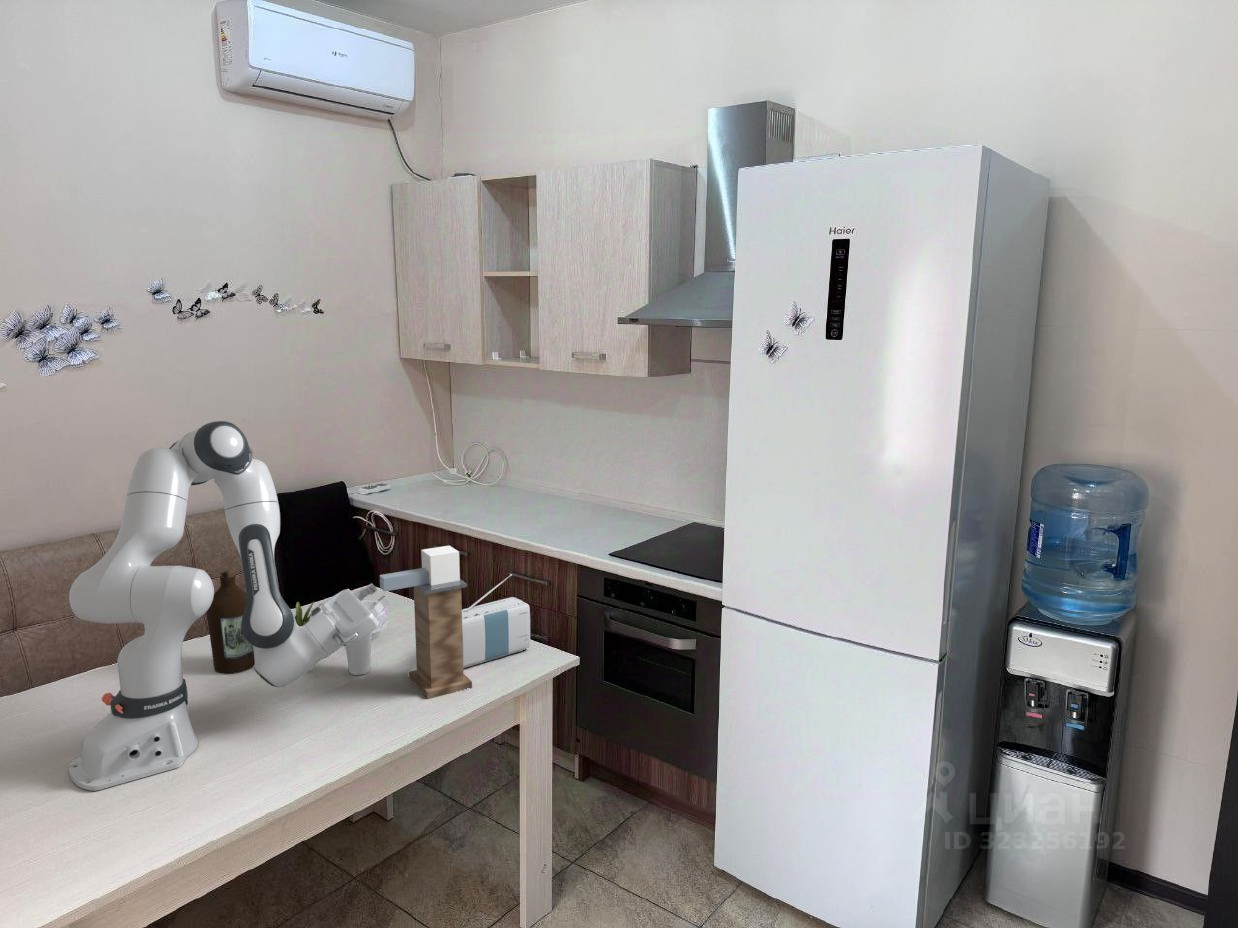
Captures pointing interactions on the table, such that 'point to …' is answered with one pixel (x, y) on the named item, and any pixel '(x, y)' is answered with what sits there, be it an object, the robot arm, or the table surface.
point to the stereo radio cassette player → (494, 629)
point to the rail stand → (439, 639)
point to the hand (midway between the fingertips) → (381, 592)
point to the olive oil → (229, 627)
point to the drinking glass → (359, 656)
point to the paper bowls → (378, 617)
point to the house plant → (298, 616)
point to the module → (426, 570)
